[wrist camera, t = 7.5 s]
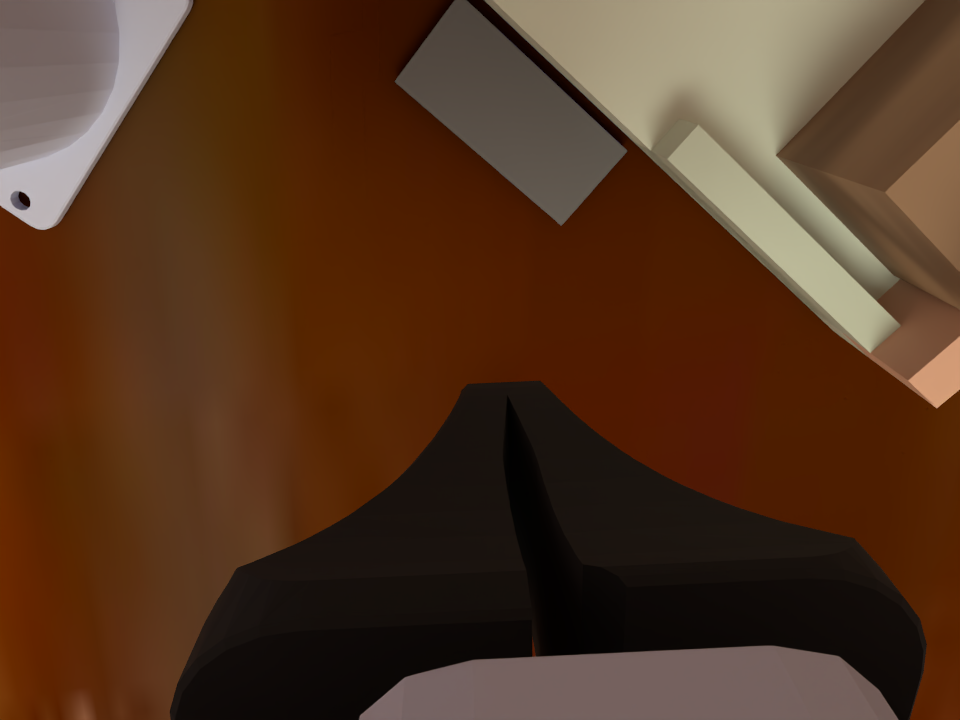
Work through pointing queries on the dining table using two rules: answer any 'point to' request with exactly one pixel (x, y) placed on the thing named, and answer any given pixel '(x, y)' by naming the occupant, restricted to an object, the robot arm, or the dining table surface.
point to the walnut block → (896, 152)
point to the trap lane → (754, 142)
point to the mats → (509, 111)
